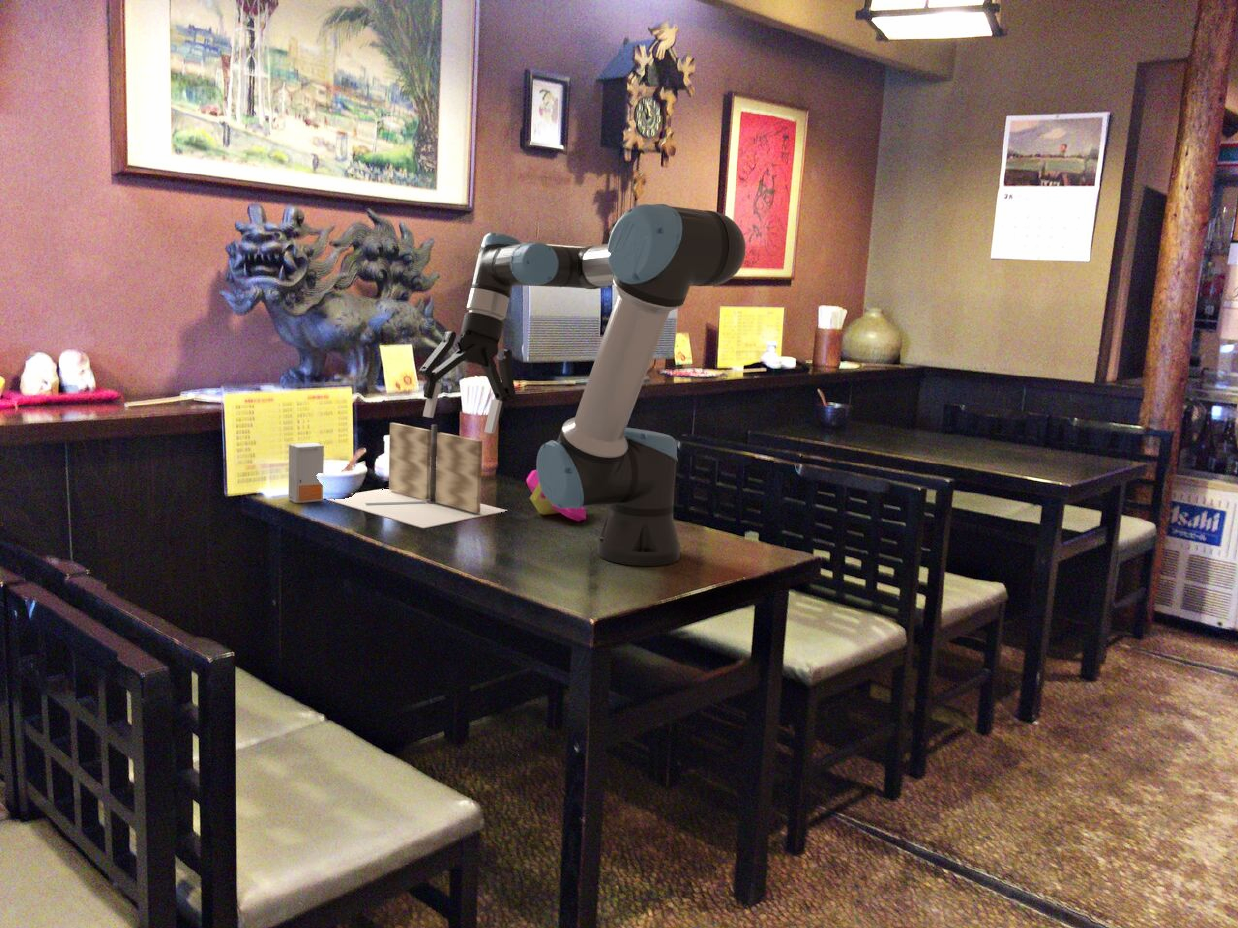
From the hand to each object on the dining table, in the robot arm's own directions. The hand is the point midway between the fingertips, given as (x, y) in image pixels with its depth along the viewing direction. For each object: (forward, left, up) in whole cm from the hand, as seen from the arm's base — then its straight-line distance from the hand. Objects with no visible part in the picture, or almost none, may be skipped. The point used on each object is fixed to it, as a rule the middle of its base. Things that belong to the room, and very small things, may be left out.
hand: (459, 425), depth 189 cm
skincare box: (+39, +7, -21) cm, 45 cm away
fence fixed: (+14, -12, -21) cm, 28 cm away
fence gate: (+28, -12, -20) cm, 37 cm away
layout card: (+22, -8, -21) cm, 31 cm away
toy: (-2, -26, -21) cm, 33 cm away
